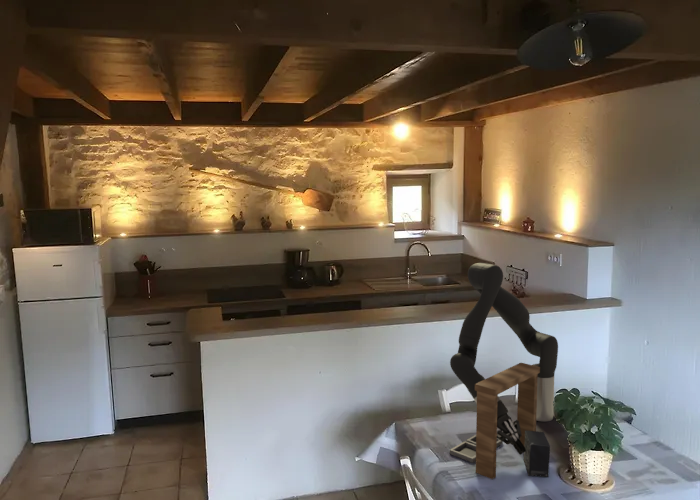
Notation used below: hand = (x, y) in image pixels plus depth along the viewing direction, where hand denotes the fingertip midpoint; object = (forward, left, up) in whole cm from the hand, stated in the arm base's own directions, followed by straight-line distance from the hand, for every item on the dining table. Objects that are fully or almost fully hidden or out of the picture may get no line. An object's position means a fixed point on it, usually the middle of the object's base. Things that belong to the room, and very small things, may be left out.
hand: (523, 452), depth 179 cm
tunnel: (0, -6, -5) cm, 8 cm away
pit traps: (0, -17, -5) cm, 18 cm away
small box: (-2, +4, -5) cm, 6 cm away
